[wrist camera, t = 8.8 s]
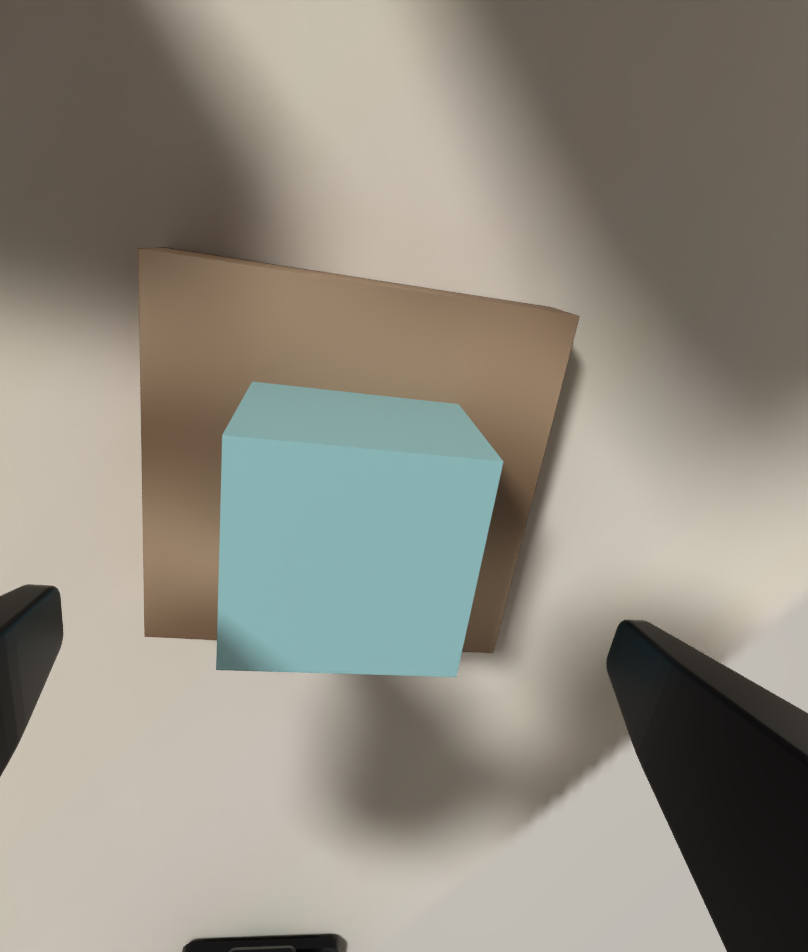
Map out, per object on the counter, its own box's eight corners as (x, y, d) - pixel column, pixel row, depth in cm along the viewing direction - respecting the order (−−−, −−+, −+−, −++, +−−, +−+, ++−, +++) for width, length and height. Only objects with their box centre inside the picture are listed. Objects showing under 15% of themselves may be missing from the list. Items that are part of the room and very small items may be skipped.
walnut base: (477, 613, 19) (493, 653, 17) (164, 595, 17) (144, 636, 16) (549, 306, 16) (579, 316, 14) (163, 247, 14) (138, 248, 12)
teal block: (427, 576, 16) (456, 677, 12) (244, 566, 15) (216, 669, 12) (458, 404, 14) (503, 461, 10) (252, 381, 13) (222, 434, 10)
